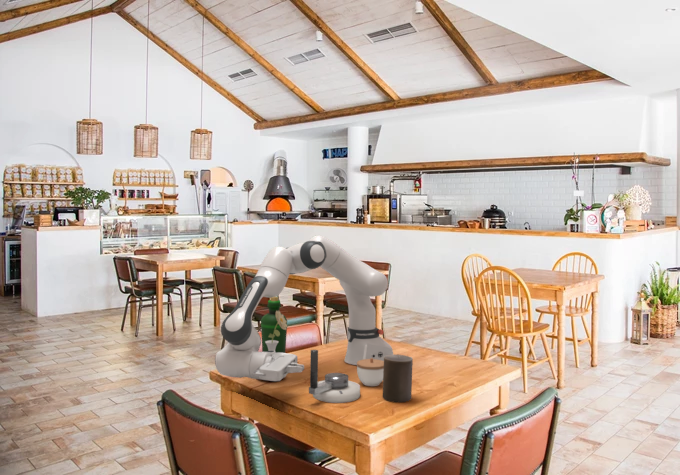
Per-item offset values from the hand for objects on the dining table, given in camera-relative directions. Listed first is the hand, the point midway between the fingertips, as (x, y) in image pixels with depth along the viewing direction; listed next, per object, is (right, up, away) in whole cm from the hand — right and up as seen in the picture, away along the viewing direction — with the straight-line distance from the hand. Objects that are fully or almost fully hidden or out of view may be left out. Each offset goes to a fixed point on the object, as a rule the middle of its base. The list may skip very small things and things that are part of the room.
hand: (303, 368), depth 188 cm
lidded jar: (+23, -11, +22) cm, 34 cm away
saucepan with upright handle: (+8, -8, +5) cm, 12 cm away
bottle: (-14, -9, +42) cm, 45 cm away
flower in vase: (-13, -10, +28) cm, 32 cm away
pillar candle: (+31, -12, +7) cm, 34 cm away
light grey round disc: (+11, -11, +9) cm, 18 cm away
